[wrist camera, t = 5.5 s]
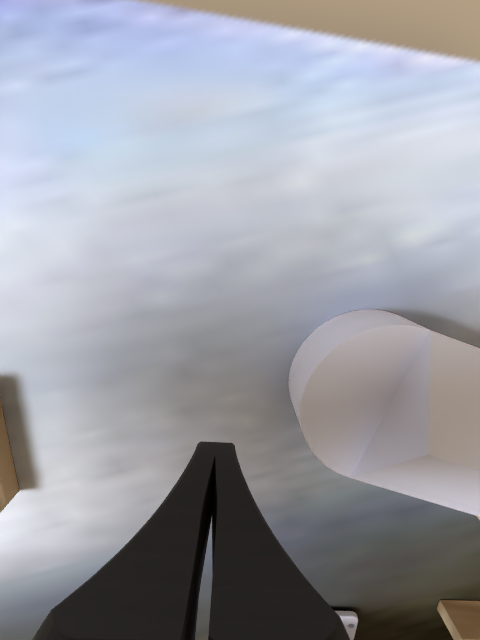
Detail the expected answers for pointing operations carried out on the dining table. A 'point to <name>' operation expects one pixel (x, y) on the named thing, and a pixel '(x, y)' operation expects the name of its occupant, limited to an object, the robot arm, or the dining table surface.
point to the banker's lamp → (6, 467)
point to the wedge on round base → (392, 406)
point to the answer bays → (461, 618)
